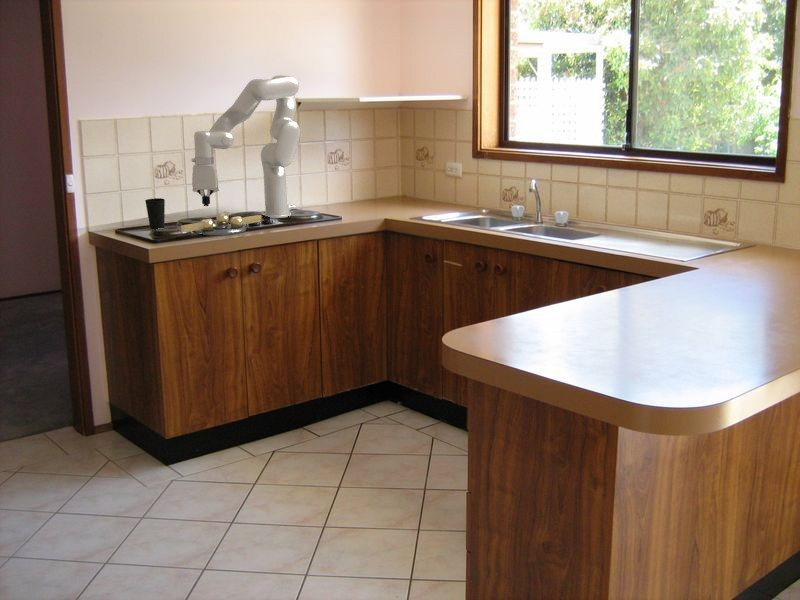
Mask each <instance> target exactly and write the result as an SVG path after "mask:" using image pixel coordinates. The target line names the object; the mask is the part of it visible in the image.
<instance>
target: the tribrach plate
mask: <svg viewBox="0 0 800 600" xmlns="http://www.w3.org/2000/svg"><path fill="white" fill-rule="evenodd" d="M213 228H214V230H210V231H202V230H195V233H196V232H197V233H202V234H203V235H202V236H207V237H208V236H209V237H225V236H233V235H238V234H242V233H245V232H246V231H247V226H246V224H243V227H241V228H231V224H228V225H217V223H214V222H213ZM197 233H196V234H197Z"/></svg>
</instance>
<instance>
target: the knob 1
mask: <svg viewBox="0 0 800 600" xmlns="http://www.w3.org/2000/svg"><path fill="white" fill-rule="evenodd" d="M229 218H230V214H229V211H228V210H227V211H226V210H225V211H223V212H222V213H221V214H218V215H216V224H217V225H228V224H229V223H230V222H229V220H230V219H229Z"/></svg>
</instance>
